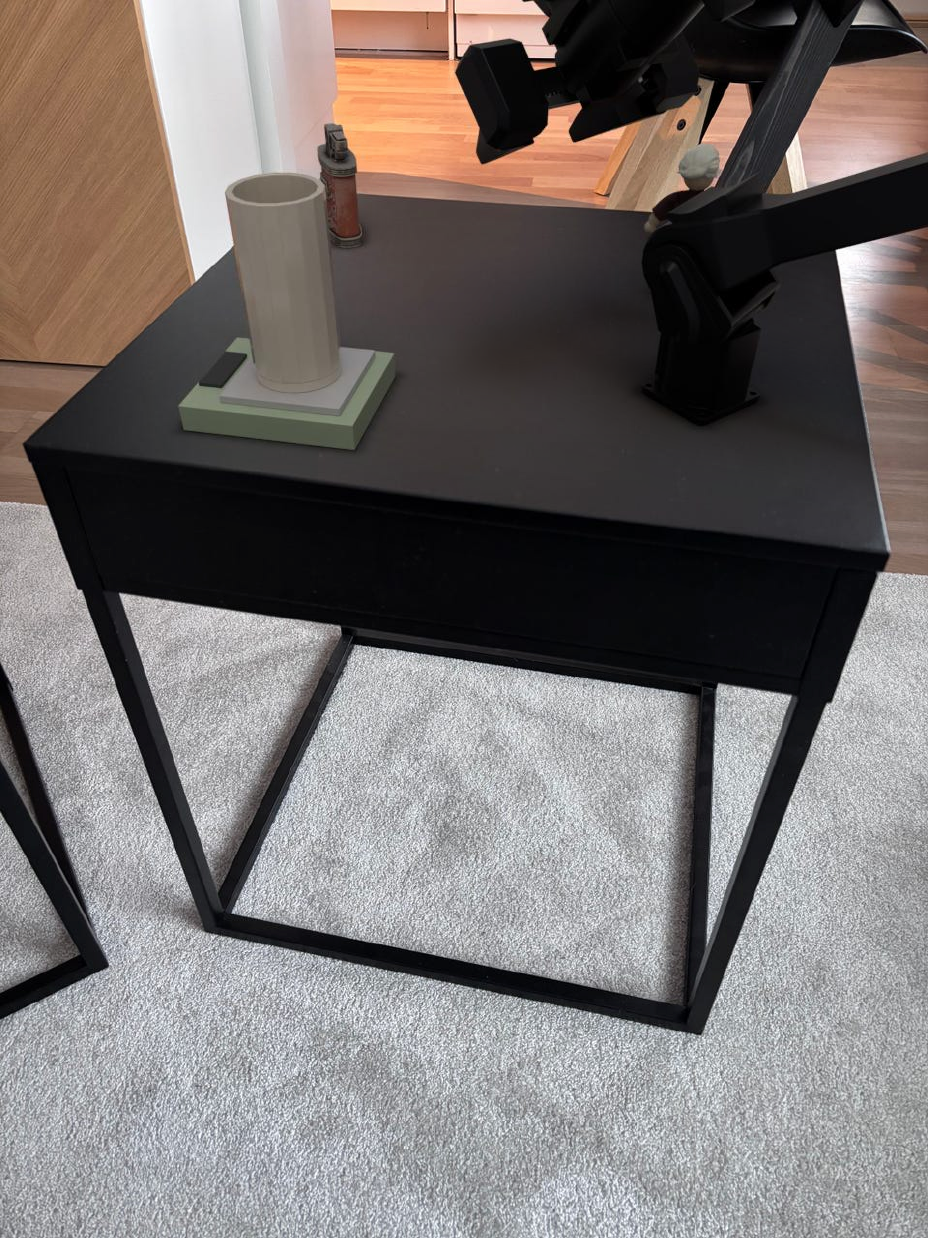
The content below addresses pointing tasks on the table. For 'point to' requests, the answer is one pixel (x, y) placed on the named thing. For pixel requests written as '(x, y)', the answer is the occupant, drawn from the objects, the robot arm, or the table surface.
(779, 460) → the table surface
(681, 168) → the grandmother figurine
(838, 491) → the table surface
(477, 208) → the table surface
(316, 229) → the tumbler
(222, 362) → the scale
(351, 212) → the lighter
